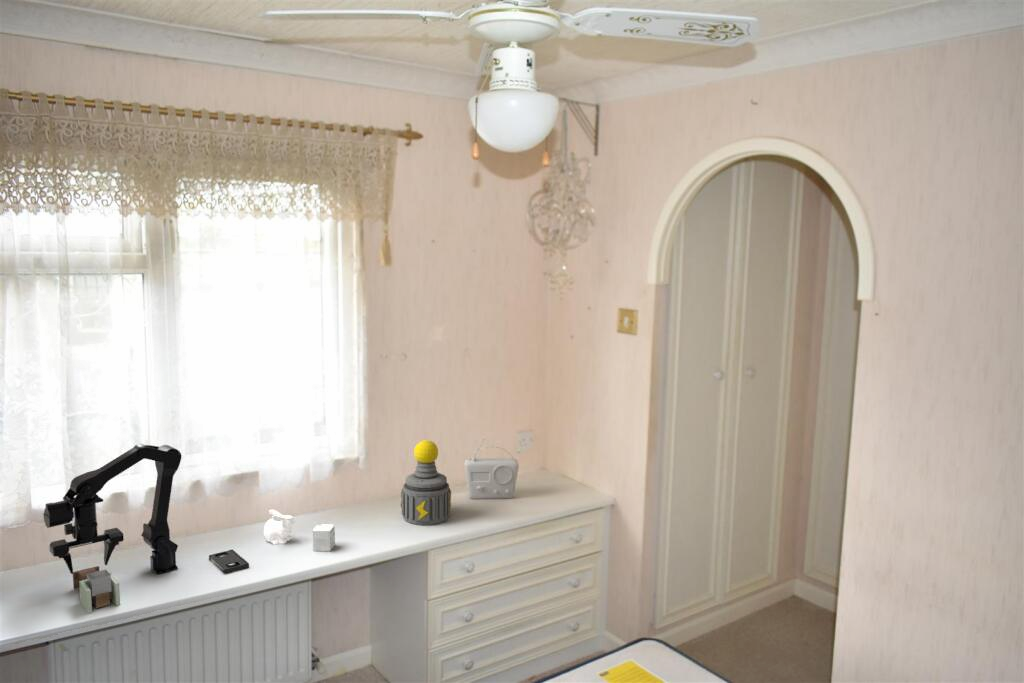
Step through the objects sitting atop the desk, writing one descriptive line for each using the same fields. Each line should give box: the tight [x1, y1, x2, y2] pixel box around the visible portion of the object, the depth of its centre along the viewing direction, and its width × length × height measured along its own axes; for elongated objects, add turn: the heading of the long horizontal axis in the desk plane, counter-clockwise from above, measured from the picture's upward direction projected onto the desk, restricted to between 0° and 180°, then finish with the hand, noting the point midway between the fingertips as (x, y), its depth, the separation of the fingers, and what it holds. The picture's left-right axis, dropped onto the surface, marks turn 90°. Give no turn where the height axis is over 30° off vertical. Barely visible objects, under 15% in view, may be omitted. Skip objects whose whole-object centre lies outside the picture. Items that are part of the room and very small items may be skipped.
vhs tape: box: [208, 549, 250, 575], centre depth 256 cm, size 14×8×2 cm, turn 40°
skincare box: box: [312, 523, 336, 552], centre depth 269 cm, size 6×6×7 cm
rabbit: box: [263, 509, 296, 545], centre depth 274 cm, size 12×9×12 cm
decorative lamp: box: [400, 439, 452, 526], centre depth 298 cm, size 19×19×30 cm
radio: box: [464, 438, 520, 500], centre depth 323 cm, size 22×8×25 cm, turn 95°
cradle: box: [78, 572, 121, 614], centre depth 228 cm, size 8×11×7 cm
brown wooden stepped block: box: [72, 565, 111, 609], centre depth 231 cm, size 18×7×5 cm, turn 42°
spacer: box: [87, 569, 112, 597], centre depth 227 cm, size 5×5×5 cm
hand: (88, 569), depth 235 cm, fingers open, 9 cm apart
